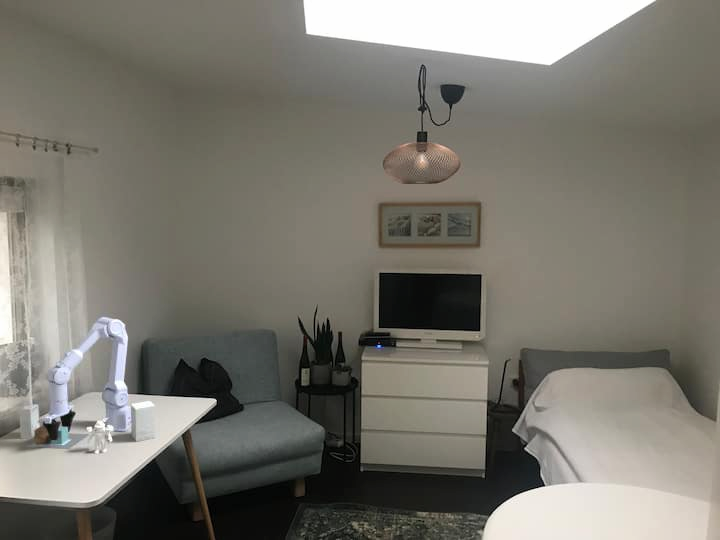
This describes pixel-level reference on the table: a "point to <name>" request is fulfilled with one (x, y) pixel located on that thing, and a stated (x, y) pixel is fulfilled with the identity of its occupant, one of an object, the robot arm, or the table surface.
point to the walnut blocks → (41, 435)
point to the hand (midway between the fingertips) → (60, 435)
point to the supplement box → (143, 421)
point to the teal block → (61, 436)
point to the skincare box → (29, 420)
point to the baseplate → (72, 441)
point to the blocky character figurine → (100, 435)
